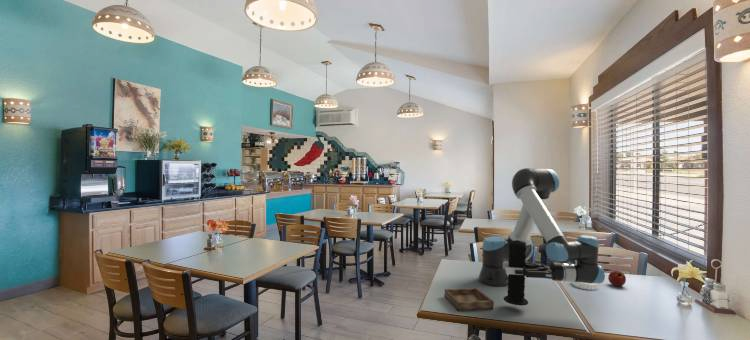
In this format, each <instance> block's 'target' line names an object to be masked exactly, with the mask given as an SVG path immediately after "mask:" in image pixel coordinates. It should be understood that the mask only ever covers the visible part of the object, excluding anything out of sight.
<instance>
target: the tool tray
mask: <svg viewBox="0 0 750 340" xmlns="http://www.w3.org/2000/svg"><path fill="white" fill-rule="evenodd" d="M444 298H445V299H446V300H447V301H448V302H449V303H450V305H452V306H453V307H454V308H455V310H457V312H469V311H472V312H473V311H486V310H494V300H493V299H492V298H490V297H489V296H488V295H487V294H485V293H484V292H483V291H481V290H480V289H479V288H477V287H471V288H467V287H465V288H450V289H449V288H448V289H447V288H446V289H444Z"/></svg>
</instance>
